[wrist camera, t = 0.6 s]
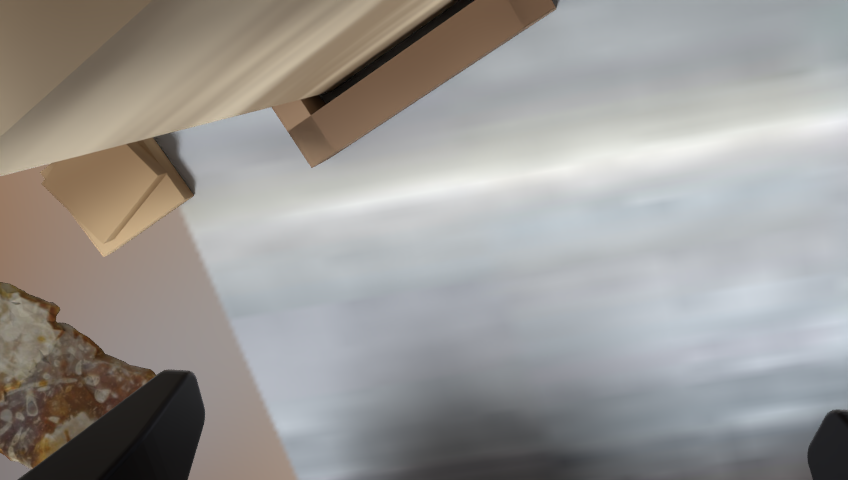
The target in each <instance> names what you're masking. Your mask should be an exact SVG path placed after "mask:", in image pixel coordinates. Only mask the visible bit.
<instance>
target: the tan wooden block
mask: <svg viewBox="0 0 848 480" xmlns="http://www.w3.org/2000/svg"><path fill="white" fill-rule="evenodd" d="M458 1H460V0H0V176H2V175H7V174H10V173H15V172H19V171H22V170H26V169H30V168H34V167H38V166H42V165H46V164H50V163H54V162H58V161H62V160H66V159H69V158H73V157H77V156H81V155H85V154H89V153H93V152H97V151H101V150H105V149H109V148H112V147H116V146H120V145H124V144H128V143H132V142H136V141H140V140H144V139H148V138H152V137H156V136H159V135H163V134H167V133H171V132H175V131H179V130H183V129H187V128H191V127H195V126H199V125H203V124H206V123H210V122H214V121H218V120H222V119H226V118H230V117H234V116H238V115H242V114H246V113H249V112H253V111H257V110H261V109H265V108H269V107H273V106H277V105H281V104H285V103H289V102H293V101H296V100H300V99H304V98H308V97H312V96H316V95H320V94H324V93H328V92H331V91H332V90H334V89H335V88H337V87H338V86H339V85H341V84H342V83H344V82H345V81H347V80H348V79H349V78H351V77H352V76H354V75H355V74H356V73H358V72H359V71H361V70H362V69H364V68H365V67H366V66H368V65H369V64H371V63H372V62H373V61H375V60H376V59H378V58H379V57H380V56H382V55H383V54H385V53H386V52H388V51H389V50H390V49H392V48H393V47H395V46H396V45H397V44H399V43H400V42H402V41H403V40H404V39H406V38H407V37H409V36H410V35H412V34H413V33H414V32H416V31H417V30H419V29H420V28H421V27H423V26H424V25H426V24H427V23H428V22H430V21H431V20H433V19H434V18H436V17H437V16H438V15H440V14H441V13H443V12H444V11H445V10H447V9H448V8H450V7H451V6H452V5H454V4H455V3H457V2H458Z"/></svg>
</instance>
